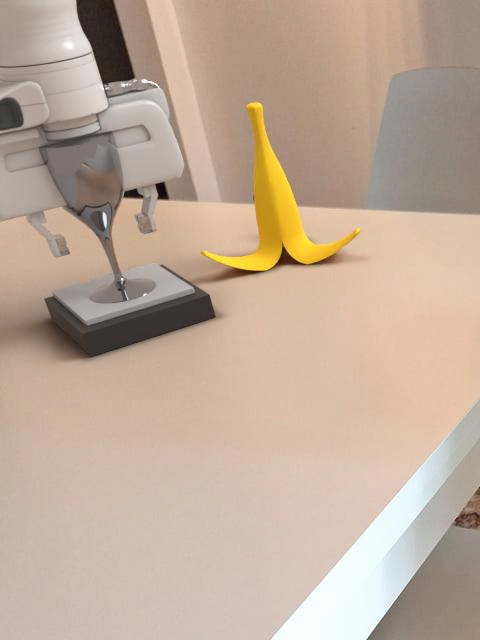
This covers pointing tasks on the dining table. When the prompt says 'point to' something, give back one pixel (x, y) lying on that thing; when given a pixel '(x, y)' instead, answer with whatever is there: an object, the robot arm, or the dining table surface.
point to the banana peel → (276, 212)
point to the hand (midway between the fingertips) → (105, 243)
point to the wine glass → (95, 204)
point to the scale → (128, 310)
